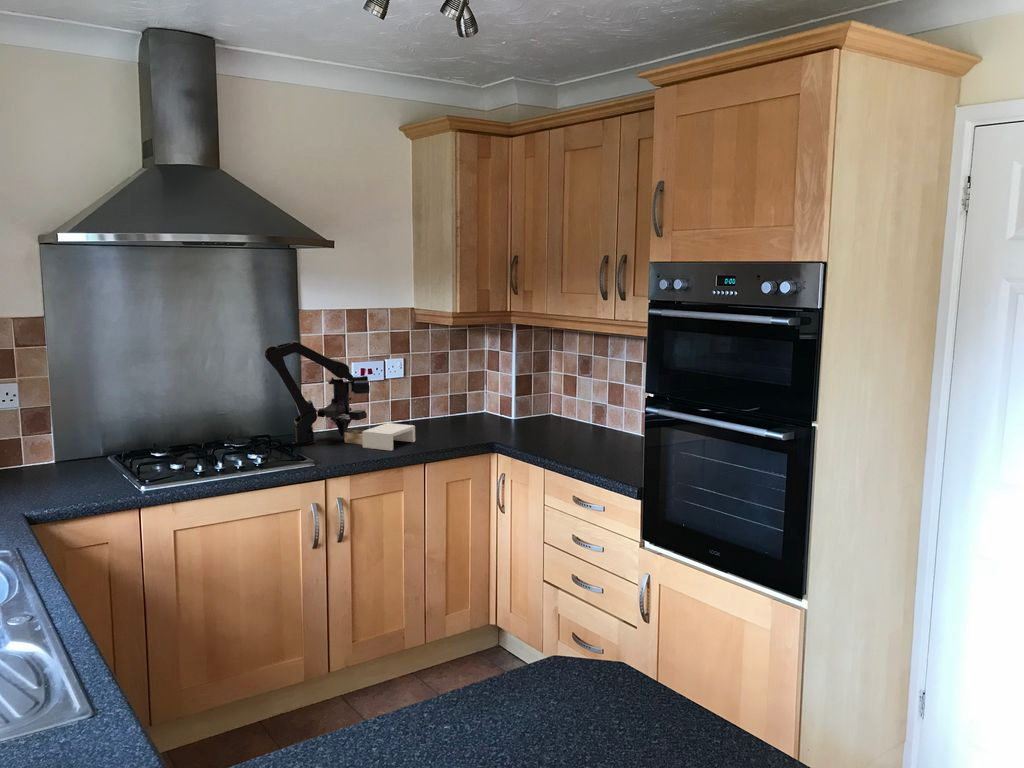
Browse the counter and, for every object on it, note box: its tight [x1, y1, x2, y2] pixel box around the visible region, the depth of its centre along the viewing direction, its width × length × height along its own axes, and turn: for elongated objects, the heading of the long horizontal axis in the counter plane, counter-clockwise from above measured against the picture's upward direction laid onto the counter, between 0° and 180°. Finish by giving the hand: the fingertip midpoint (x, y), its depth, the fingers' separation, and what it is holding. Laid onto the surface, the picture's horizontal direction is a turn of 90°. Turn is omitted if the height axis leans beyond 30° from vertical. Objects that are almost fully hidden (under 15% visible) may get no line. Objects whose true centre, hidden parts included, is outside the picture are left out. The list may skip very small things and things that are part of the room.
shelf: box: [361, 422, 416, 452], centre depth 307 cm, size 12×17×6 cm
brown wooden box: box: [343, 429, 363, 446], centre depth 311 cm, size 10×6×4 cm, turn 61°
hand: (342, 436), depth 314 cm, fingers closed
